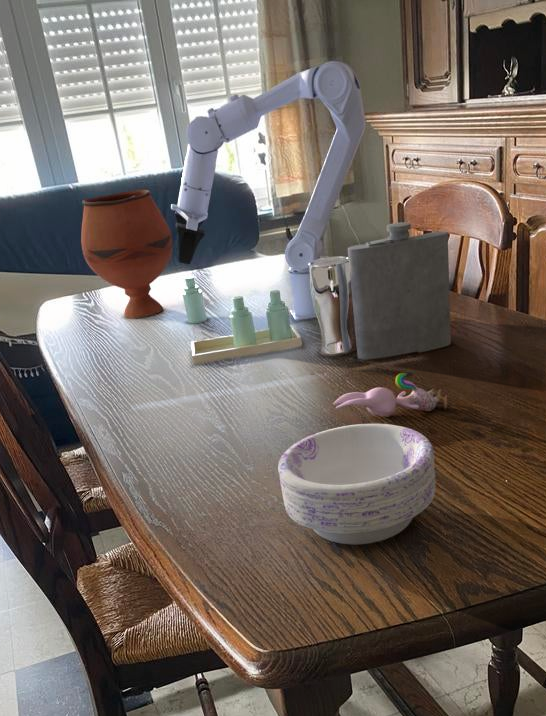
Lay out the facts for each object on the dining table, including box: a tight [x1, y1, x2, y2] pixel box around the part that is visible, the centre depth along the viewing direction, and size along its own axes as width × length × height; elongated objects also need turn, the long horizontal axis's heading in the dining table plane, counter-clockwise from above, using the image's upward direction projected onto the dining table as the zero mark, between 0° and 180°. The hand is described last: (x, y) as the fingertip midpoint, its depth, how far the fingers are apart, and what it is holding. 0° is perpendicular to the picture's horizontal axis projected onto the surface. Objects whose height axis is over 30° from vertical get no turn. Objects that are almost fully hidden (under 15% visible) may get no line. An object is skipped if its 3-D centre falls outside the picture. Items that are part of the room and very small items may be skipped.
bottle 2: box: [265, 289, 292, 342], centre depth 132 cm, size 4×4×9 cm
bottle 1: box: [229, 295, 257, 348], centre depth 132 cm, size 4×4×9 cm
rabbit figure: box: [333, 372, 448, 418], centre depth 98 cm, size 6×6×15 cm
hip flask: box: [347, 221, 452, 361], centre depth 117 cm, size 16×4×20 cm, turn 103°
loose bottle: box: [182, 275, 208, 324], centre depth 155 cm, size 4×4×9 cm
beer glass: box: [309, 255, 357, 357], centre depth 123 cm, size 7×7×15 cm
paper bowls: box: [277, 423, 436, 546], centre depth 74 cm, size 15×15×8 cm
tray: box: [190, 324, 303, 365], centre depth 134 cm, size 19×9×2 cm, turn 99°
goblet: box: [80, 189, 173, 319], centre depth 163 cm, size 19×19×25 cm
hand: (183, 257), depth 148 cm, fingers open, 7 cm apart
